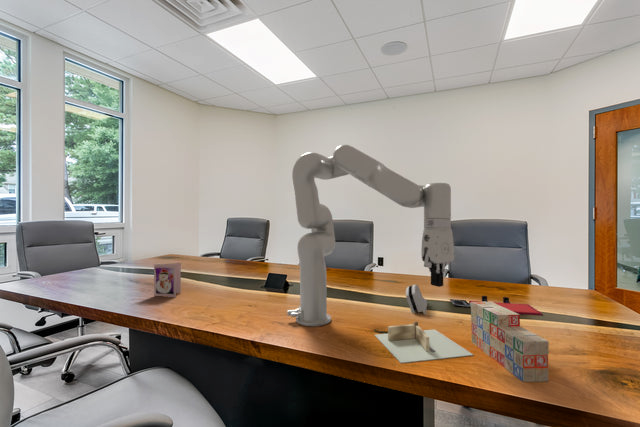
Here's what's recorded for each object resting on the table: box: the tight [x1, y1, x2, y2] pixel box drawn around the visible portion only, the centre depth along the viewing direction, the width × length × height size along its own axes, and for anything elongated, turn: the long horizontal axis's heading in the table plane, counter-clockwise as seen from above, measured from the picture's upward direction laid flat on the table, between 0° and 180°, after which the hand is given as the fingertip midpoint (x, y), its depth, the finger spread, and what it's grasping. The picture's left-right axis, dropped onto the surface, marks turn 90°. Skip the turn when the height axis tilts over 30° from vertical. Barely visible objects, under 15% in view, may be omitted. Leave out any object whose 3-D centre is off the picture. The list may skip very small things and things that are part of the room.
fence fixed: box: [387, 321, 419, 341], centre depth 89 cm, size 10×1×5 cm, turn 101°
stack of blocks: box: [470, 301, 550, 383], centre depth 77 cm, size 21×6×12 cm, turn 2°
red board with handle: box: [449, 295, 544, 316], centre depth 121 cm, size 30×3×15 cm
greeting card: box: [153, 262, 182, 298], centre depth 141 cm, size 11×7×15 cm, turn 80°
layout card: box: [374, 329, 474, 364], centre depth 86 cm, size 21×18×1 cm
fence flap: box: [416, 325, 430, 351], centre depth 85 cm, size 8×1×4 cm, turn 1°
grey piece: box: [405, 284, 428, 315], centre depth 121 cm, size 17×5×10 cm, turn 157°
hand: (436, 285), depth 88 cm, fingers closed
